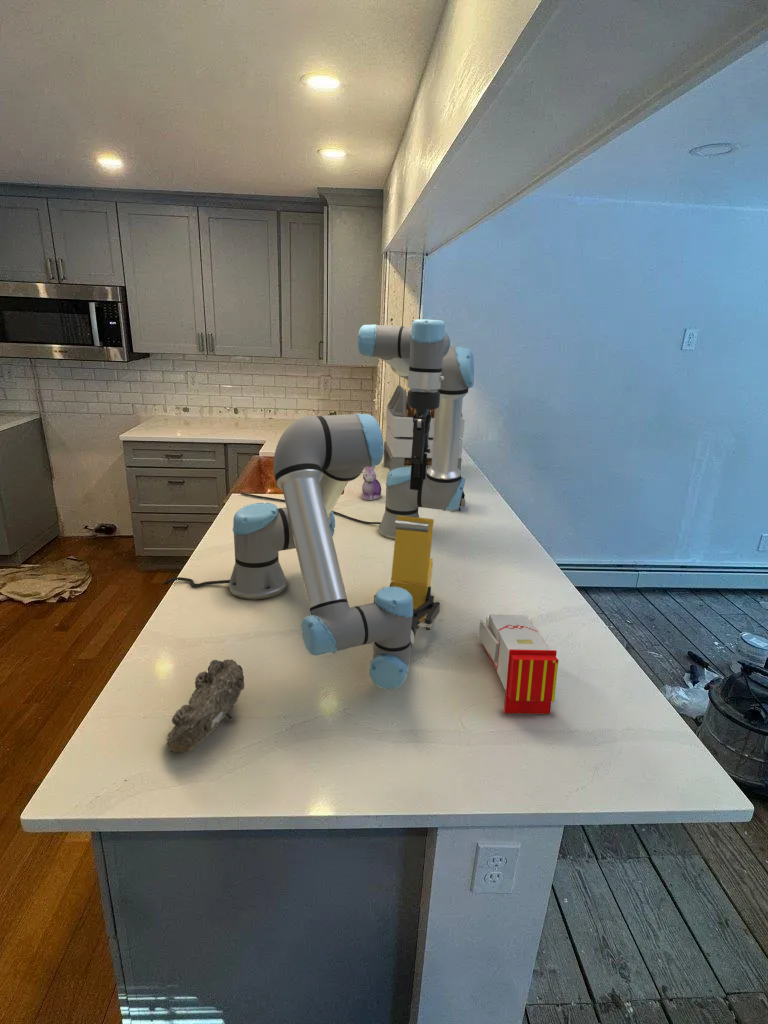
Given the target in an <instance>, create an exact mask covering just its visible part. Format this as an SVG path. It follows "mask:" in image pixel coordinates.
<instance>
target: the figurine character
mask: <svg viewBox="0 0 768 1024" xmlns="http://www.w3.org/2000/svg"><path fill="white" fill-rule="evenodd" d="M465 496H466V494H465V492H464V490H463V492H462V497H461V501H460V505H459V508H458V509H457V510H458V511H461V510H462V509H461V508H465V505H466V497H465Z"/></svg>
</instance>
